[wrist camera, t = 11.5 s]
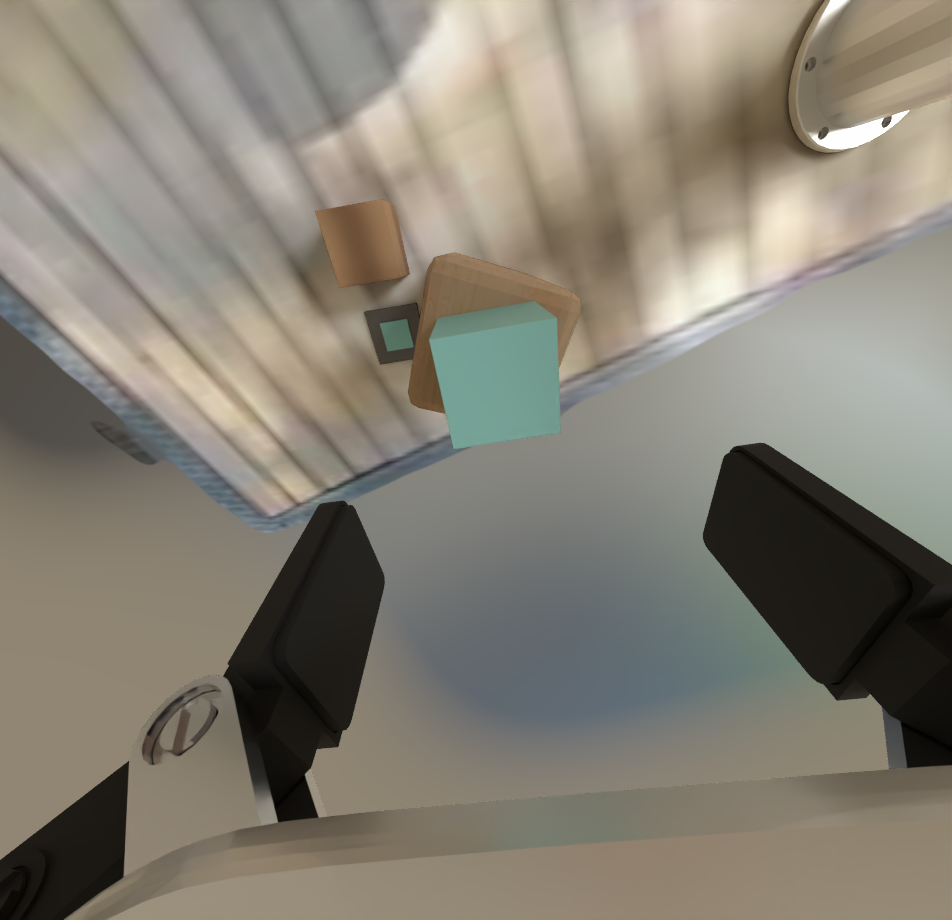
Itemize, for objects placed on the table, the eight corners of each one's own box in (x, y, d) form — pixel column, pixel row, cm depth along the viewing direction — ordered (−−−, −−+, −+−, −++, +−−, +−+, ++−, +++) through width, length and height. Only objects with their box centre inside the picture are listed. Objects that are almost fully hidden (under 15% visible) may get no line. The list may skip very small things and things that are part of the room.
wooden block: (429, 343, 41) (403, 410, 24) (446, 249, 36) (429, 250, 19) (508, 363, 43) (536, 439, 26) (534, 276, 38) (591, 298, 21)
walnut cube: (395, 206, 34) (382, 198, 29) (409, 273, 37) (401, 277, 32) (337, 216, 35) (315, 211, 30) (356, 282, 38) (339, 287, 33)
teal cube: (534, 300, 21) (556, 317, 16) (540, 393, 24) (560, 432, 19) (437, 318, 21) (429, 340, 16) (456, 407, 24) (453, 448, 19)
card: (416, 303, 39) (415, 303, 38) (428, 355, 42) (427, 357, 42) (365, 311, 39) (363, 312, 39) (380, 363, 42) (379, 364, 42)
